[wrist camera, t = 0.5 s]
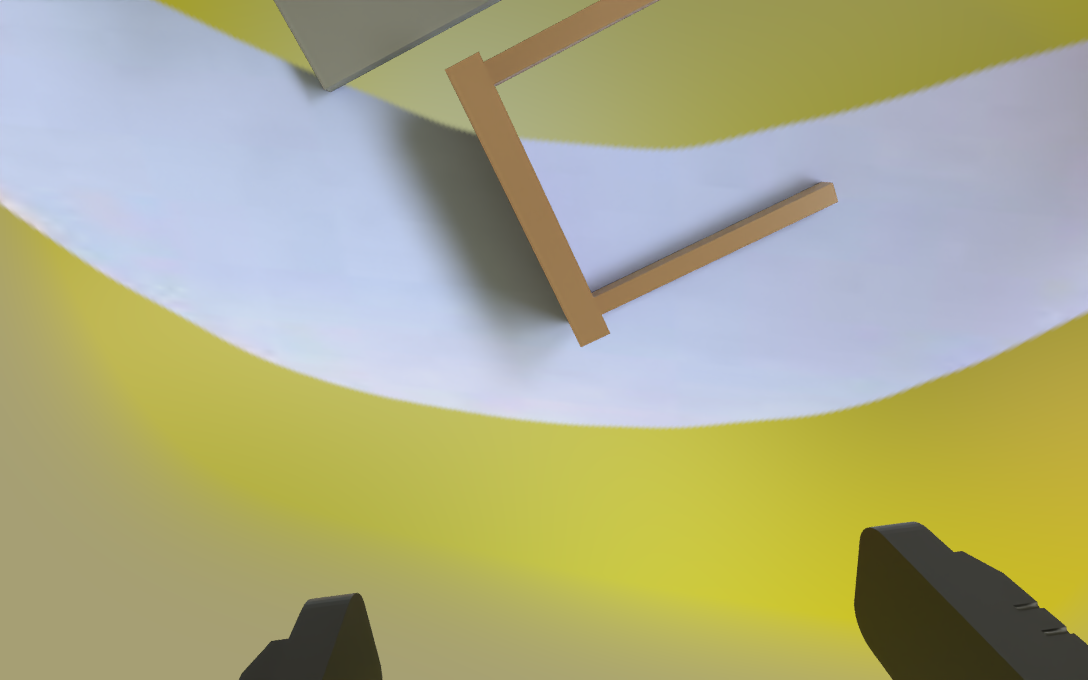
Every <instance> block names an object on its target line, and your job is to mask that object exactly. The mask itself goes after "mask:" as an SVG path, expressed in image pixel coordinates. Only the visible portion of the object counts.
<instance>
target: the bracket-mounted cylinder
mask: <svg viewBox="0 0 1088 680" xmlns="http://www.w3.org/2000/svg"><path fill="white" fill-rule="evenodd" d="M499 1H501V0H274V2H275V3H276V5H277V7H278V8H279V10H280V12H281V14H282V16H283V17H284V19H285V21H286V23H287V25H288V26H289V28H290V30H291V32H292V33H293V35H294V37H295V39H296V41H297V42H298V44H299V46H300V48H301V49H302V51H303V53H304V55H305V57H306V58H307V60H308V62H309V64H310V65H311V67H312V69H313V71H314V73H315V74H316V76H317V78H318V80H319V81H320V83H321V85H322V87H323V88H324V90H327V91H330V92H332V91H334V90H335V89H337V88H339V87H341V86H343V85H345V84H347V83H348V82H350V81H352V80H354V79H356V78H358V77H360V76H361V75H363V74H365V73H367V72H369V71H371V70H372V69H374V68H376V67H378V66H380V65H382V64H384V63H386V62H387V61H389V60H391V59H393V58H395V57H397V56H399V55H400V54H402V53H404V52H406V51H408V50H410V49H412V48H414V47H415V46H417V45H419V44H421V43H423V42H425V41H426V40H428V39H430V38H432V37H434V36H436V35H438V34H440V33H441V32H443V31H445V30H447V29H448V28H451V27H452V26H454V25H456V24H458V23H460V22H462V21H464V20H466V19H467V18H469V17H471V16H473V15H475V14H477V13H478V12H480V11H482V10H484V9H486V8H488V7H490V6H491V5H493V4H495V3H497V2H499Z"/></svg>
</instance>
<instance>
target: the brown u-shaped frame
mask: <svg viewBox="0 0 1088 680" xmlns="http://www.w3.org/2000/svg"><path fill="white" fill-rule="evenodd" d="M657 1H659V0H600V1H598V2H596V3H594V4H592V5H591V6H589V7H587V8H585V9H583V10H581V11H579V12H577V13H575V14H574V15H572V16H570V17H568V18H566V19H564V20H562V21H561V22H558V23H557V24H555V25H553V26H551V27H549V28H547V29H545V30H543V31H541V32H540V33H538V34H536V35H534V36H532V37H530V38H528V39H526V40H524V41H522V42H521V43H519V44H517V45H515V46H513V47H511V48H509V49H507V50H505V51H504V52H502V53H500V54H498V55H496V56H494V57H492V58H491V59H488V60H487V61H485V62H483V60H482V58H481V56H480V53H479V52H477V53H476V54H474V55H472V56H470V57H468V58H466V59H464V60H462V61H460V62H459V63H457V64H455V65H453V66H451V67H449V68H447V69H446V70H445V71H446V73H447V75H448V77H449V79H450V81H451V83H452V85H453V87H454V89H455V91H456V94H457V96H458V97H459V100H460V101H461V104H462V106H463V108H464V110H465V112H466V114H467V116H468V118H469V120H470V122H471V124H472V126H473V128H474V130H475V132H476V134H477V136H478V138H479V140H480V142H481V144H482V147H483V149H484V151H485V153H486V155H487V157H488V159H489V161H490V163H491V165H492V167H493V169H494V171H495V173H496V175H497V177H498V179H499V181H500V183H501V185H502V187H503V189H504V191H505V193H506V195H507V197H508V200H509V202H510V204H511V206H512V208H513V210H514V212H515V214H516V216H517V218H518V220H519V222H520V224H521V226H522V228H523V230H524V232H525V234H526V236H527V238H528V240H529V242H530V244H531V246H532V248H533V250H534V253H535V255H536V257H537V259H538V261H539V263H540V265H541V267H542V269H543V271H544V273H545V275H546V277H547V279H548V281H549V283H550V285H551V287H552V289H553V291H554V293H555V295H556V297H557V299H558V301H559V303H560V306H561V308H562V310H563V312H564V314H565V316H566V318H567V320H568V322H569V324H570V326H571V328H572V330H573V332H574V334H575V336H576V338H577V340H578V342H579V344H580V346H581V347H583V346H585V345H587V344H589V343H591V342H593V341H595V340H597V339H599V338H602V337H604V336H606V335H608V334H610V332H609V330H608V328H607V325H606V323H605V321H604V319H603V317H602V314H604V313H606V312H608V311H610V310H613V309H615V308H617V307H619V306H621V305H623V304H625V303H627V302H629V301H631V300H633V299H636V298H638V297H640V296H642V295H644V294H646V293H648V292H650V291H652V290H654V289H656V288H659V287H661V286H663V285H665V284H667V283H669V282H671V281H673V280H675V279H677V278H679V277H682V276H684V275H686V274H688V273H690V272H692V271H694V270H696V269H698V268H700V267H703V266H705V265H707V264H709V263H711V262H713V261H715V260H717V259H719V258H721V257H723V256H726V255H728V254H730V253H732V252H734V251H736V250H738V249H740V248H742V247H744V246H746V245H749V244H751V243H753V242H755V241H757V240H759V239H761V238H763V237H765V236H767V235H770V234H772V233H774V232H776V231H778V230H780V229H782V228H784V227H786V226H788V225H790V224H793V223H795V222H797V221H799V220H801V219H803V218H805V217H807V216H809V215H811V214H813V213H816V212H818V211H820V210H822V209H824V208H826V207H828V206H830V205H832V204H834V203H837V202H838V199H837V196H836V193H835V189H834V186H833V183H829V182H820V183H818V184H816V185H814V186H812V187H810V188H808V189H806V190H804V191H802V192H800V193H798V194H795V195H793V196H791V197H789V198H787V199H785V200H783V201H781V202H779V203H777V204H775V205H773V206H771V207H769V208H766V209H764V210H762V211H760V212H758V213H756V214H754V215H752V216H750V217H748V218H746V219H744V220H742V221H739V222H737V223H735V224H733V225H731V226H729V227H727V228H725V229H723V230H721V231H719V232H717V233H715V234H713V235H710V236H708V237H706V238H704V239H702V240H700V241H698V242H696V243H694V244H692V245H690V246H688V247H686V248H683V249H681V250H679V251H677V252H675V253H673V254H671V255H669V256H667V257H665V258H663V259H661V260H659V261H657V262H654V263H652V264H650V265H648V266H646V267H644V268H642V269H640V270H638V271H636V272H634V273H632V274H630V275H627V276H625V277H623V278H621V279H619V280H617V281H615V282H613V283H611V284H609V285H607V286H605V287H603V288H600V289H598V290H596V291H594V292H592V293H591V291H590V289H589V287H588V285H587V283H586V280H585V278H584V276H583V274H582V272H581V270H580V268H579V266H578V263H577V261H576V259H575V257H574V255H573V253H572V251H571V248H570V246H569V244H568V242H567V240H566V238H565V236H564V233H563V231H562V229H561V227H560V225H559V223H558V221H557V218H556V216H555V214H554V212H553V210H552V208H551V206H550V203H549V201H548V199H547V197H546V195H545V193H544V191H543V188H542V186H541V184H540V182H539V180H538V178H537V176H536V173H535V171H534V169H533V167H532V165H531V163H530V161H529V158H528V156H527V154H526V152H525V150H524V148H523V146H522V143H521V141H520V139H519V137H518V135H517V133H516V131H515V128H514V126H513V124H512V122H511V120H510V118H509V116H508V113H507V111H506V109H505V107H504V105H503V103H502V101H501V98H500V96H499V94H498V92H497V90H496V88H495V86H497V85H499V84H501V83H502V82H505V81H506V80H508V79H510V78H512V77H514V76H516V75H518V74H520V73H522V72H524V71H526V70H527V69H529V68H531V67H533V66H535V65H537V64H539V63H541V62H543V61H545V60H547V59H548V58H550V57H552V56H554V55H556V54H558V53H560V52H562V51H564V50H565V49H567V48H569V47H571V46H573V45H575V44H577V43H579V42H581V41H583V40H585V39H587V38H589V37H590V36H592V35H594V34H596V33H598V32H600V31H602V30H603V29H605V28H608V27H609V26H611V25H613V24H615V23H617V22H619V21H620V20H623V19H625V18H627V17H628V16H630V15H632V14H634V13H636V12H638V11H640V10H642V9H644V8H646V7H648V6H649V5H651V4H653V3H655V2H657Z"/></svg>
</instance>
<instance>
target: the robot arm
mask: <svg viewBox="0 0 1088 680" xmlns="http://www.w3.org/2000/svg"><path fill="white" fill-rule="evenodd" d="M854 607H855V614H856V618H857V622H858V625H859V628H860V631H861V633H862V635H863V637H864V639H865V641H866V643H867V644H868V646H869V647H870V649H871V650H872V652H873V653H874V655H875V656H876V657H877V658H878V660H879V661H880V662H881V664H882V665H883V667H884V668H885V670H886V671H887V672H888V674H889V675H890V676H891V678H892V679H893V680H1088V645H1087V644H1086V643H1085V642H1084V641H1082V640H1081V639H1080V638H1079V637H1078V636H1076V635H1075V634H1074V633H1073V634H1070V633H1069V632H1068V631H1067V629H1066V626H1065V625H1064V624H1062V623H1061V622H1060V621H1059V620H1058V619H1057V618H1055V617H1054V616H1053V615H1052V614H1050V612H1048V611H1047V610H1046V609H1045V608H1039V606H1038V604H1037V601H1035V600H1034V599H1033V598H1032V597H1031V596H1029V595H1028V594H1027V593H1026V592H1025V591H1024V590H1022V589H1021V588H1020V587H1019V586H1018V585H1017V584H1015V583H1014V582H1013V581H1012V580H1011V579H1010V578H1008V577H1007V576H1006V575H1005V574H1004V573H1002V572H1000V571H998V570H996V569H994V568H993V567H991V566H989V565H987V564H985V563H983V562H981V561H980V560H978V559H976V558H974V557H972V556H970V555H968V554H967V553H965V552H963V551H960V552H953V551H952V550H951V549H950V548H948V547H947V546H946V545H945V544H944V543H943V542H942V541H941V540H939V539H938V538H937V537H936V536H935V535H934V534H933V533H932V532H931V531H930V530H928V529H927V528H926V527H925V526H923V525H921V524H920V523H917V522H907V523H900V524H892V525H885V526H877V527H869V528H866V529H864V530H863V532H862V533H861V536H860V544H859V556H858V567H857V577H856V589H855V599H854ZM239 680H382V671H381V665H380V661H379V657H378V653H377V649H376V646H375V642H374V638H373V634H372V630H371V627H370V623H369V619H368V615H367V611H366V608H365V604H364V601H363V598H362V596H361V595H360V594H359V593H353V594H345V595H338V596H331V597H323V598H315V599H310V600H308V601H307V602H306V603H305V604H304V607H303V608H302V610H301V612H300V614H299V617H298V619H297V621H296V624H295V626H294V628H293V630H292V632H291V635H290V637H289V639H283V640H275V641H271V642H270V643H269V644H268V645H267V646H266V648H265V649H264V650H263V651H262V652H261V653H260V654H259V655H258V656H257V658H256V659H255V660H254V661H253V662H252V663H251V664H250V665H249V666H248V667H247V668H246V670H245V671H244V672H243V673H242V674H241V677H240V678H239Z"/></svg>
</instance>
